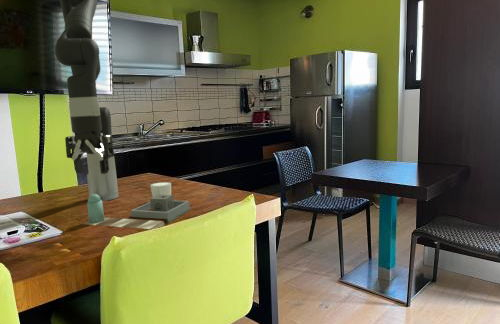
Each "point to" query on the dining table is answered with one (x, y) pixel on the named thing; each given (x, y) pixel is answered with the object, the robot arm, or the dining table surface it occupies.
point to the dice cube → (162, 203)
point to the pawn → (95, 209)
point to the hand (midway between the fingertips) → (92, 173)
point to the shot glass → (161, 188)
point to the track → (121, 222)
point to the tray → (171, 215)
